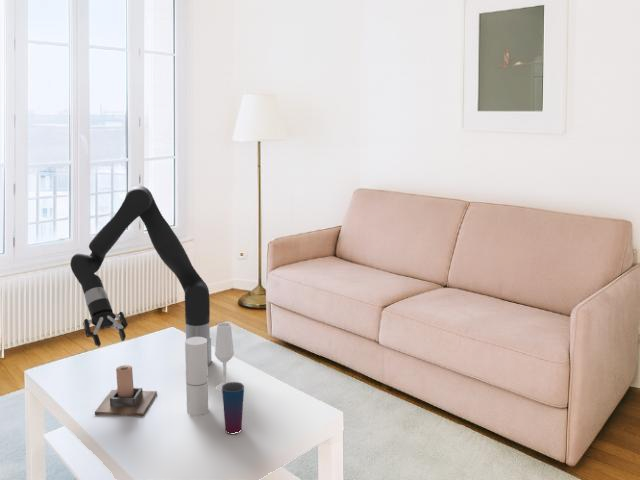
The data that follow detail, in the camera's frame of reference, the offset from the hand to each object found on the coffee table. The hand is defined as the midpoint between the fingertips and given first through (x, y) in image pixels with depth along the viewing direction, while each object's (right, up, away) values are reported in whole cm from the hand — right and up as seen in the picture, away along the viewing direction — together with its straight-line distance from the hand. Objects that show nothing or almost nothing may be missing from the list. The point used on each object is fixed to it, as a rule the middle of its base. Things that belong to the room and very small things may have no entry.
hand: (111, 342), depth 221 cm
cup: (+45, -25, -21) cm, 56 cm away
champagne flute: (+38, -18, +9) cm, 43 cm away
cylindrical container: (+32, -22, -9) cm, 39 cm away
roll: (+7, -19, -5) cm, 21 cm away
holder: (+7, -20, -5) cm, 22 cm away
